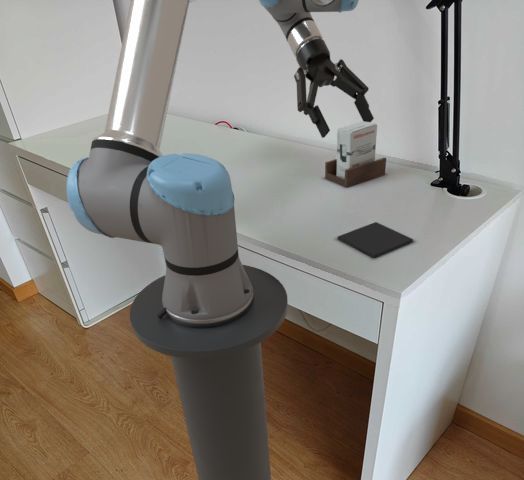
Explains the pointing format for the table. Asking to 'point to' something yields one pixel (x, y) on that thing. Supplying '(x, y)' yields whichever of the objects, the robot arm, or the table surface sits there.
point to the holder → (355, 172)
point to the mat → (375, 239)
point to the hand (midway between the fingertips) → (348, 128)
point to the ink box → (355, 146)
